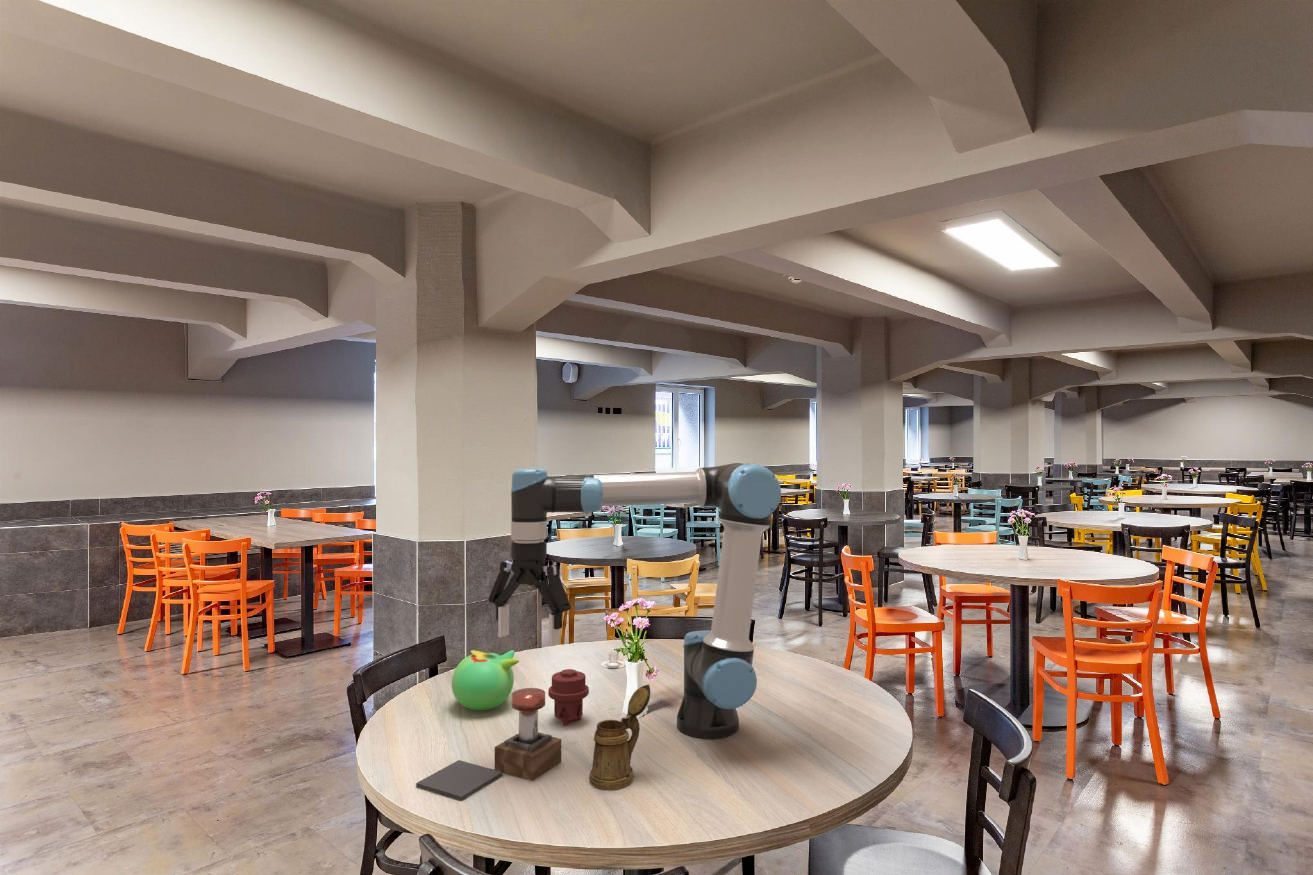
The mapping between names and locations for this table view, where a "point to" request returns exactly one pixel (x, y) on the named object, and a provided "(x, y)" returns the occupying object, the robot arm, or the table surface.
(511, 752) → the eye block
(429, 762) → the table surface
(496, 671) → the toy bird
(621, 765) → the wooden mug
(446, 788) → the rubber mat
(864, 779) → the table surface
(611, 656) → the white ring with peg
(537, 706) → the peg
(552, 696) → the mechanical component
